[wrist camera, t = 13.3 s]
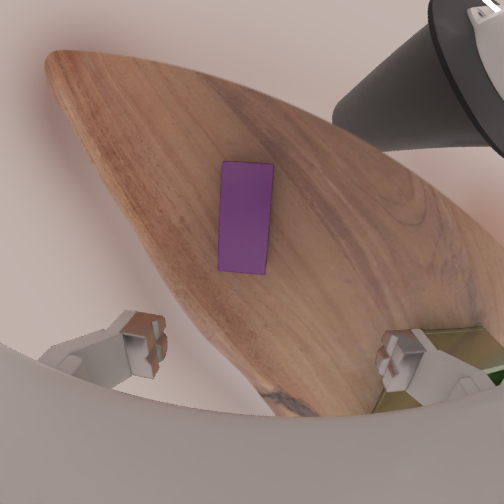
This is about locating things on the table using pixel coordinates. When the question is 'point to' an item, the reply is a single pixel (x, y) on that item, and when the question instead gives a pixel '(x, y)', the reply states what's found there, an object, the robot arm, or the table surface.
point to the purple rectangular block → (244, 216)
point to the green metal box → (462, 347)
